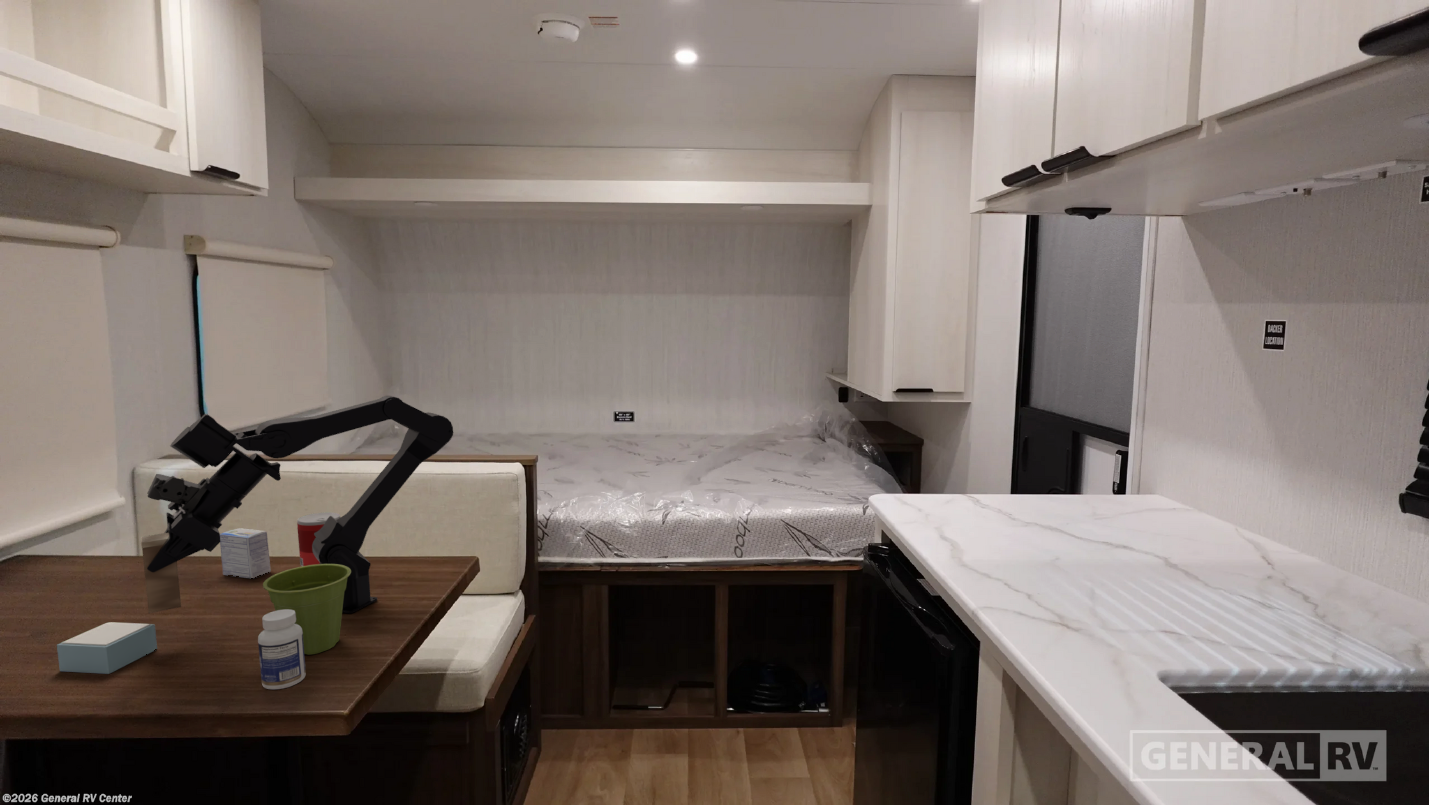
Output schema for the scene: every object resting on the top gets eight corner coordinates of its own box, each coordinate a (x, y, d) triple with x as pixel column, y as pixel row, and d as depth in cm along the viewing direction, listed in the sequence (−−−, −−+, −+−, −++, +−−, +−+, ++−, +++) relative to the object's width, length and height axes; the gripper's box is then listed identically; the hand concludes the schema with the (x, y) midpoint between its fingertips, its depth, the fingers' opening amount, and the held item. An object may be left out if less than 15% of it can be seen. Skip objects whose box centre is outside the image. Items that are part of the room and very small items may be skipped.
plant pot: (249, 659, 110) (243, 586, 109) (312, 627, 121) (307, 561, 120) (314, 668, 107) (308, 593, 106) (372, 634, 118) (368, 566, 117)
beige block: (180, 599, 117) (174, 531, 115) (181, 607, 113) (175, 537, 112) (147, 605, 114) (141, 536, 113) (148, 613, 111) (141, 542, 110)
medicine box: (271, 572, 148) (268, 530, 147) (251, 579, 144) (247, 536, 143) (242, 568, 151) (239, 527, 150) (222, 575, 147) (218, 533, 146)
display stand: (157, 649, 114) (154, 623, 113) (109, 673, 106) (105, 646, 105) (111, 646, 115) (108, 621, 114) (59, 671, 107) (56, 643, 106)
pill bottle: (273, 673, 106) (268, 607, 104) (312, 671, 106) (307, 606, 105) (253, 692, 100) (247, 623, 99) (294, 690, 101) (289, 621, 100)
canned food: (326, 577, 145) (322, 523, 144) (291, 575, 147) (287, 521, 145) (352, 564, 152) (349, 513, 151) (319, 562, 154) (315, 511, 153)
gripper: (179, 446, 121) (99, 524, 115) (185, 463, 106) (94, 553, 101) (240, 486, 127) (166, 562, 121) (253, 508, 112) (170, 595, 106)
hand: (149, 567), depth 112 cm, fingers closed on beige block, 4 cm apart
